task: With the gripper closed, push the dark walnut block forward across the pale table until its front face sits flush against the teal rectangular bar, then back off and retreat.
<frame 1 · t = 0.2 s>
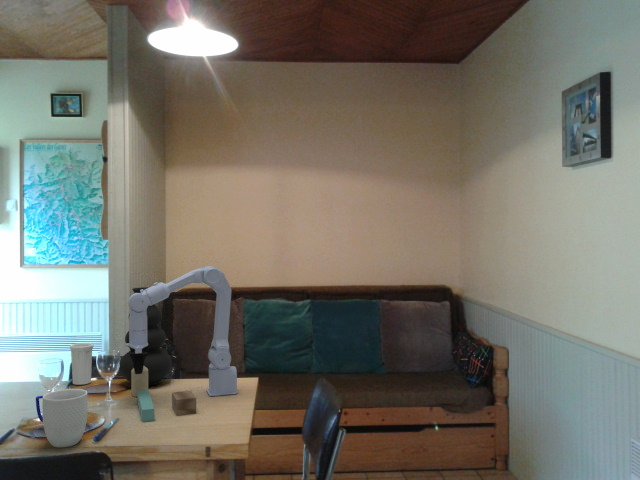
hand: (138, 371, 194), 10 cm above the table, fingers open, 7 cm apart
teal rectangular bar: (145, 410, 184), on the table
mug 2: (67, 442, 157), on the table
block: (184, 411, 185), on the table
candle: (139, 395, 202), on the table
vase: (145, 383, 217), on the table
mug: (58, 428, 168), on the table
cup: (81, 384, 217), on the table
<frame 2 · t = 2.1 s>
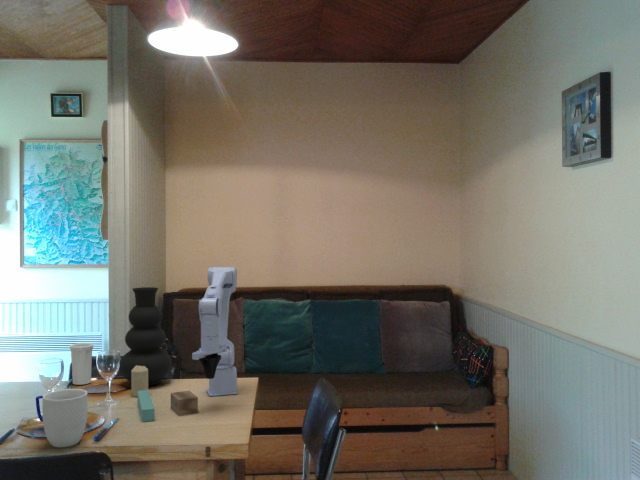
hand: (210, 378, 187), 9 cm above the table, fingers closed
nothing on the table moved.
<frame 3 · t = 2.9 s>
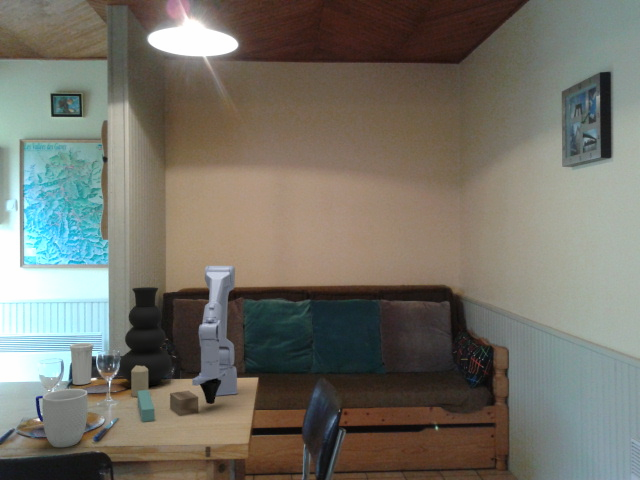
hand: (210, 403, 187), 1 cm above the table, fingers closed
nothing on the table moved.
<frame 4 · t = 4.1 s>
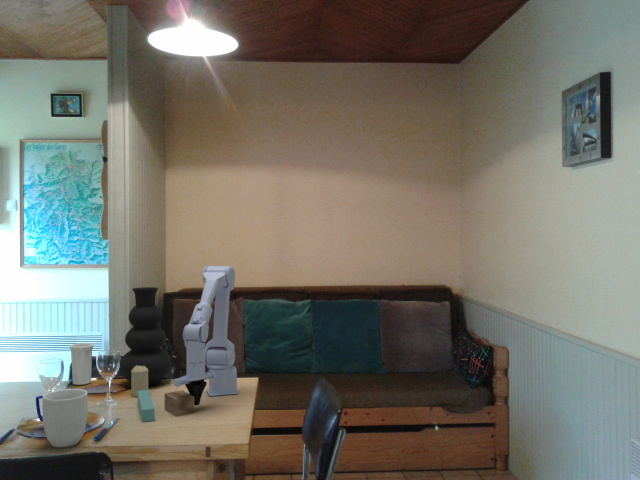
hand: (195, 404, 186), 1 cm above the table, fingers closed
block: (179, 410, 184), on the table, touching gripper
everything else where it was.
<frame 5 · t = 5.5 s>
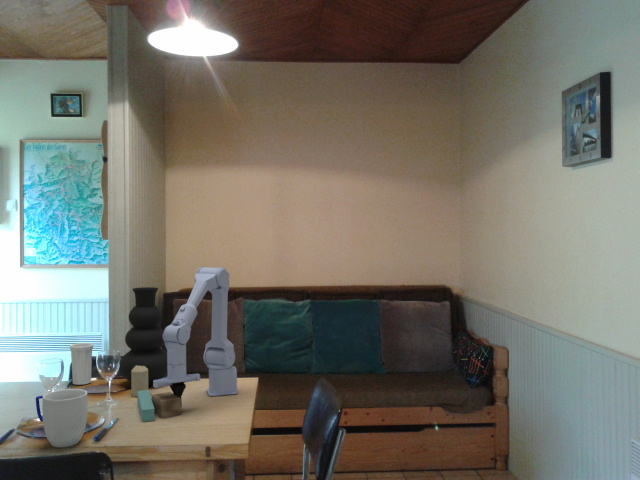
hand: (177, 406, 184), 1 cm above the table, fingers closed, pressing on block
block: (166, 412, 182), on the table, touching teal rectangular bar, gripper
everything else where it was.
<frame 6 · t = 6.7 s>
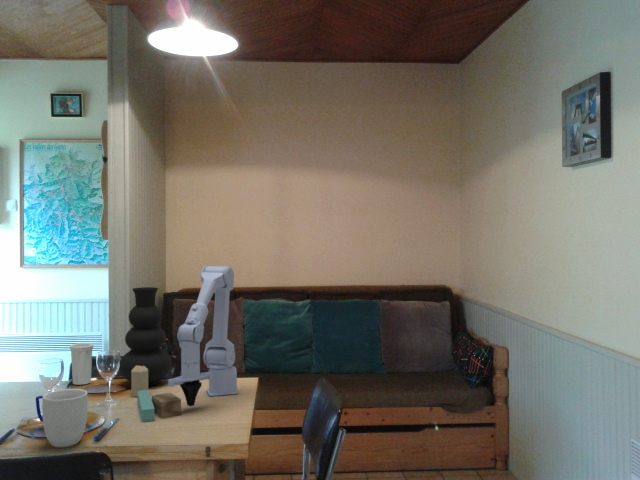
hand: (190, 405, 185), 1 cm above the table, fingers closed
block: (166, 413, 182), on the table
everything else where it was.
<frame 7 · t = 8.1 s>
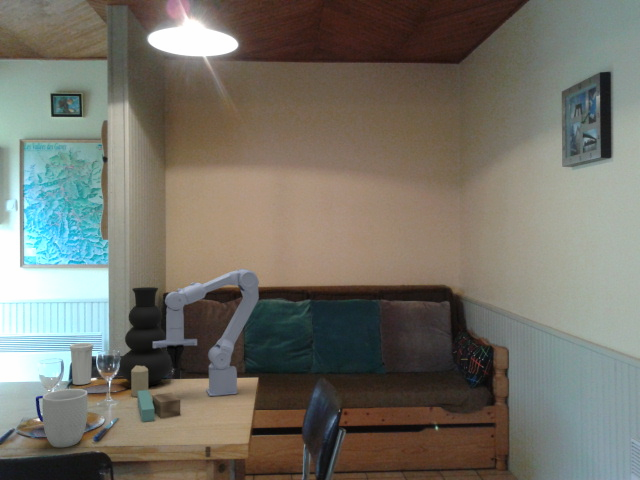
hand: (175, 367, 199), 10 cm above the table, fingers closed
nothing on the table moved.
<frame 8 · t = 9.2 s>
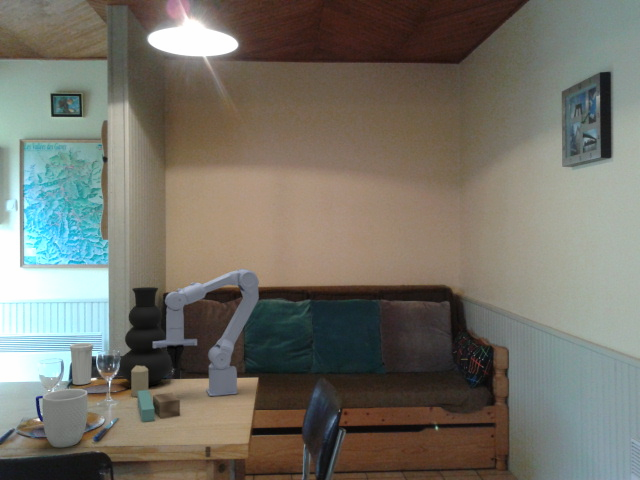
hand: (175, 367, 199), 10 cm above the table, fingers closed
nothing on the table moved.
at the end: block inside the target area on the table beside the teal rectangular bar (3.1 cm from its centre), on the table; block tilted 0° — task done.
